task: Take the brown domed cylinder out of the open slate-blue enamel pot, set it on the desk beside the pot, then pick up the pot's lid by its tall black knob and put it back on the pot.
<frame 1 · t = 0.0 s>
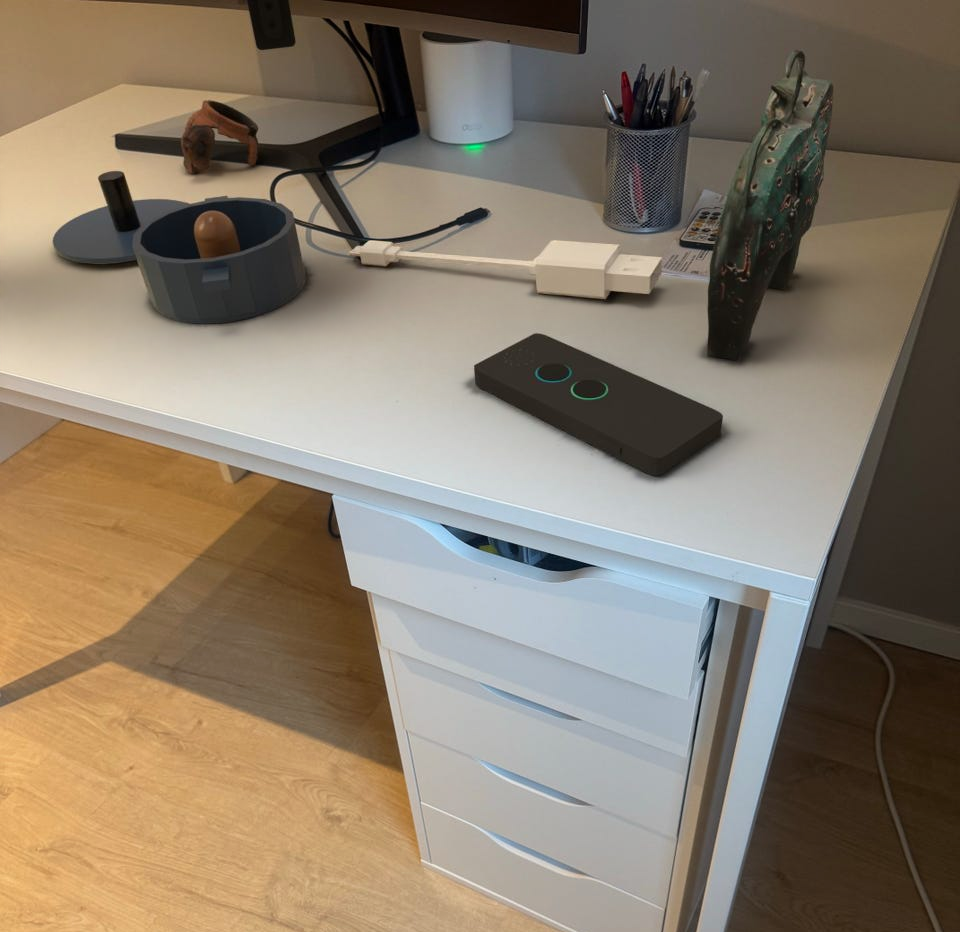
hand: (274, 33, 77), 21 cm above the table, tool pointing down, fingers open, 9 cm apart
smart home device: (591, 409, 73), on the table
dark green sculpted piece: (754, 314, 82), on the table
orange-brown curved ring piece: (220, 168, 118), on the table
pot: (229, 287, 92), on the table
charging cable: (501, 279, 90), on the table
brown domed cylinder: (228, 283, 92), resting on pot
lid: (129, 232, 102), point 1 cm above the table
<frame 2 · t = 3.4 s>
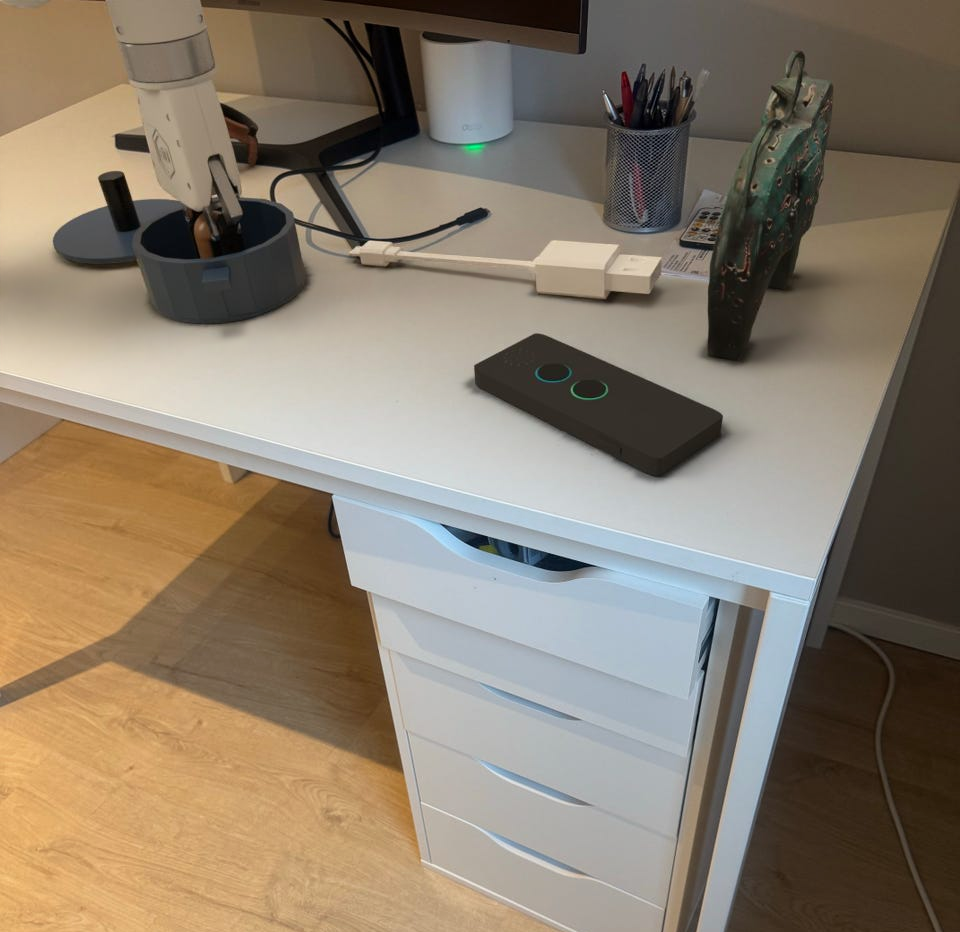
hand: (224, 266, 91), 2 cm above the table, tool pointing down, fingers closed on brown domed cylinder, 4 cm apart
brown domed cylinder: (228, 283, 92), resting on pot, touching gripper
everything else where it was.
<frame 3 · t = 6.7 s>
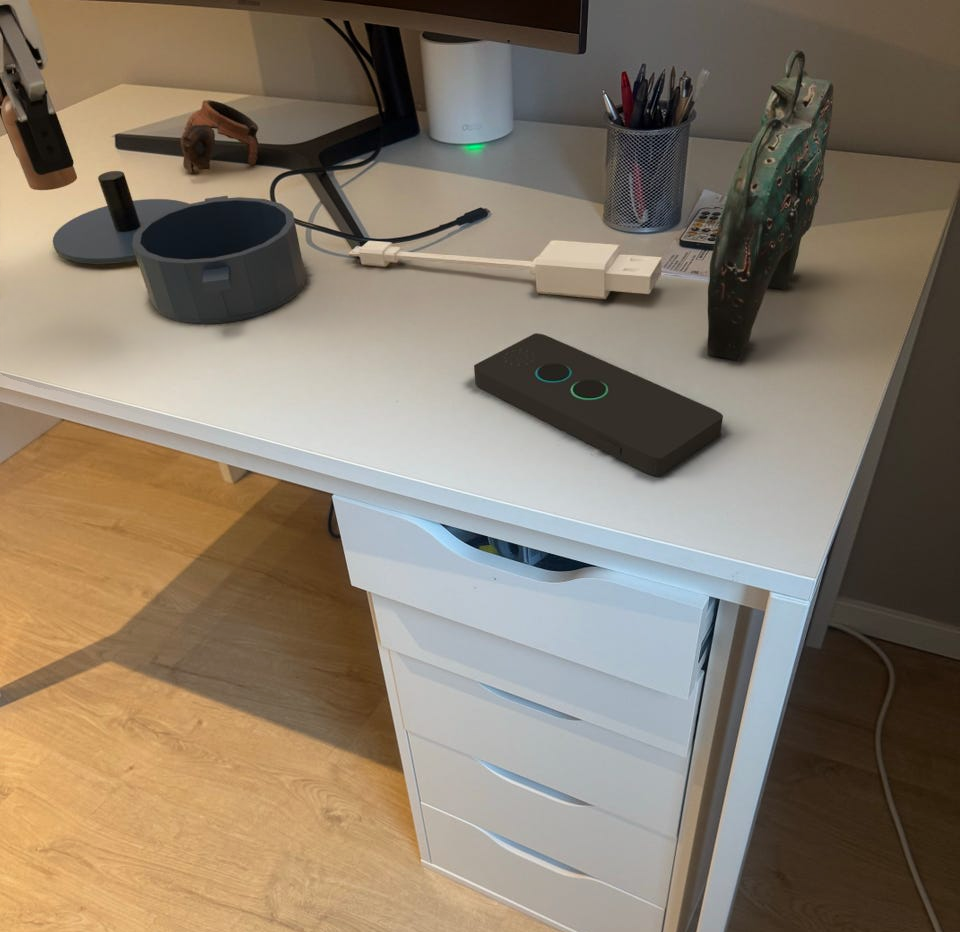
hand: (45, 160, 76), 15 cm above the table, tool pointing down, fingers closed on brown domed cylinder, 4 cm apart
brown domed cylinder: (53, 181, 77), point 14 cm above the table, touching gripper
everything else where it was.
when the fingers open (2 cm above the table, at t = 10.1 s): brown domed cylinder stays where it is, on the table.
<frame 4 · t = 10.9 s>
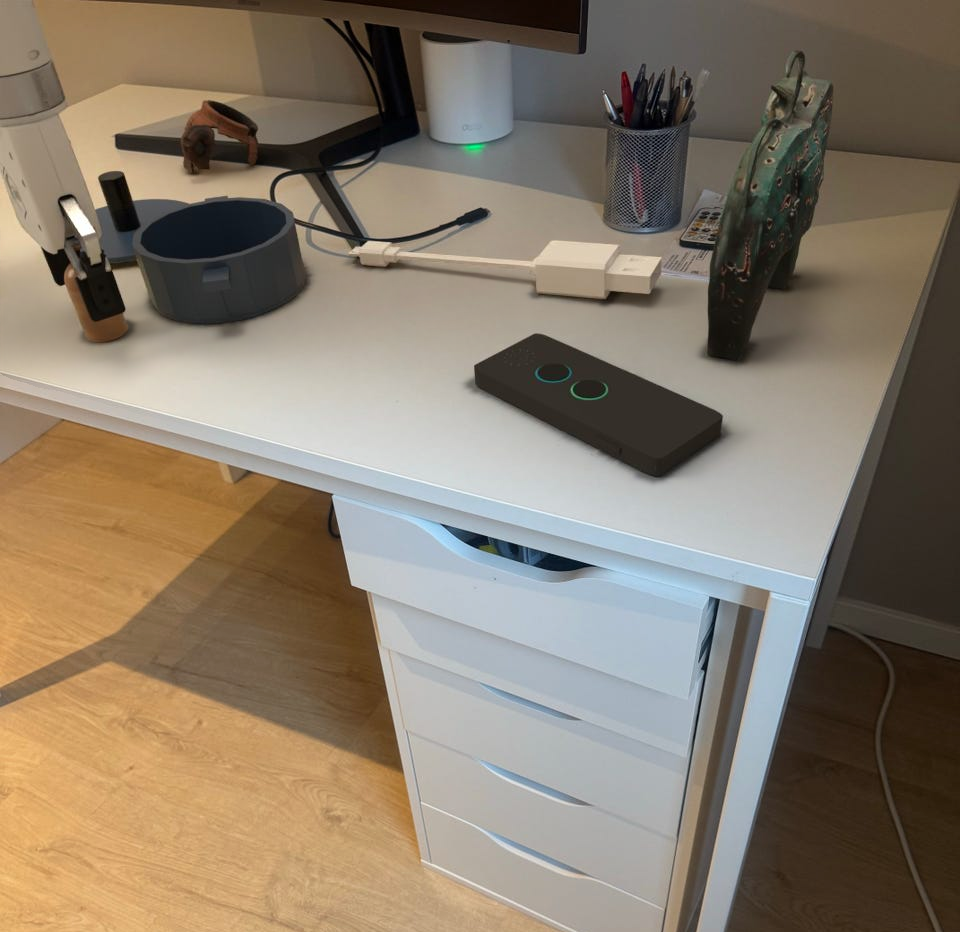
hand: (90, 297, 85), 3 cm above the table, tool pointing down, fingers open, 9 cm apart
brown domed cylinder: (107, 332, 87), on the table
everything else where it was.
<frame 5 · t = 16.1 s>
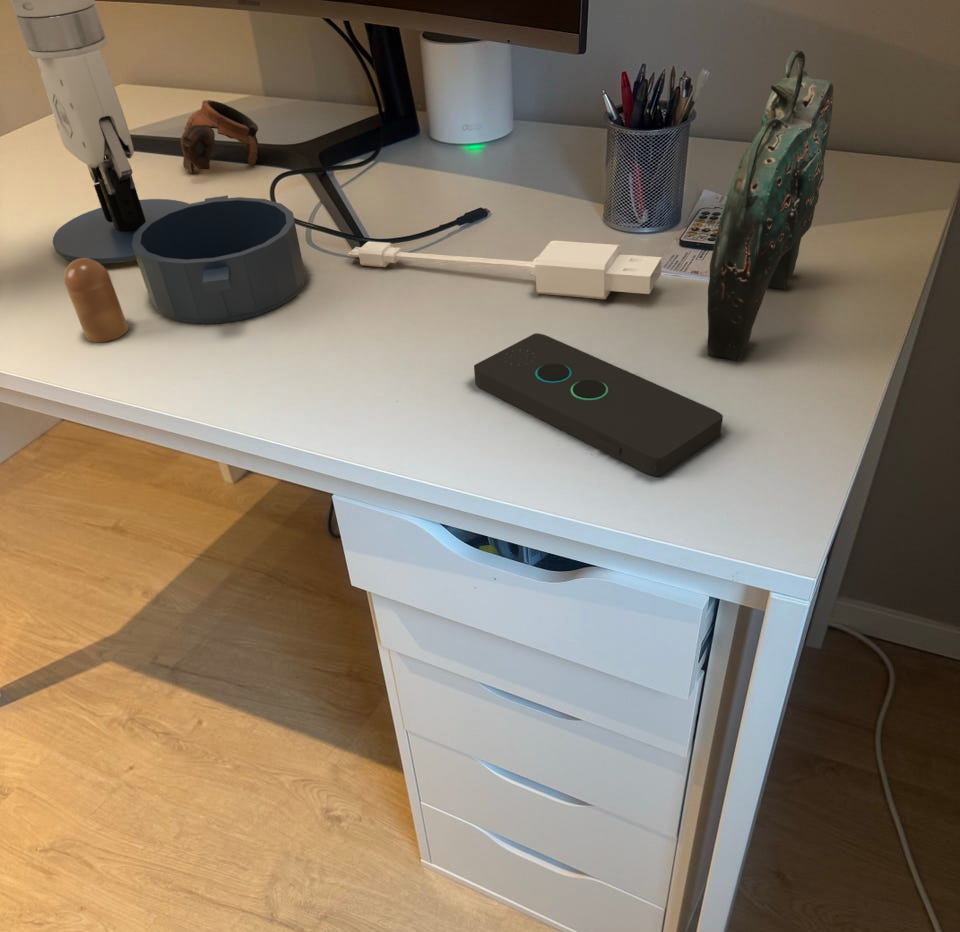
hand: (126, 221, 102), 2 cm above the table, tool pointing down, fingers closed on lid, 2 cm apart
lid: (129, 232, 102), point 1 cm above the table, touching gripper
everything else where it was.
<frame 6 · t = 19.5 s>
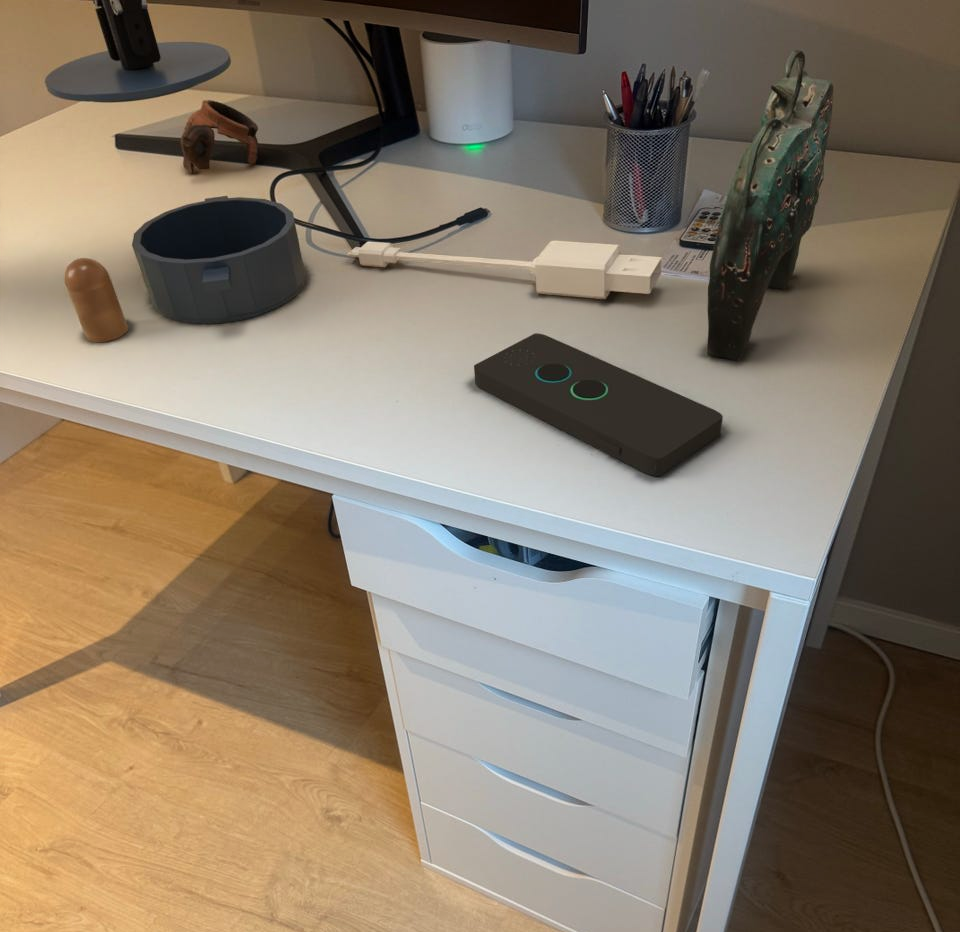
hand: (135, 58, 82), 19 cm above the table, tool pointing down, fingers closed on lid, 2 cm apart
lid: (140, 73, 83), point 18 cm above the table, touching gripper
everything else where it was.
when the fingers open (7 cm above the table, at t = 23.1 s): lid stays where it is, resting on pot.
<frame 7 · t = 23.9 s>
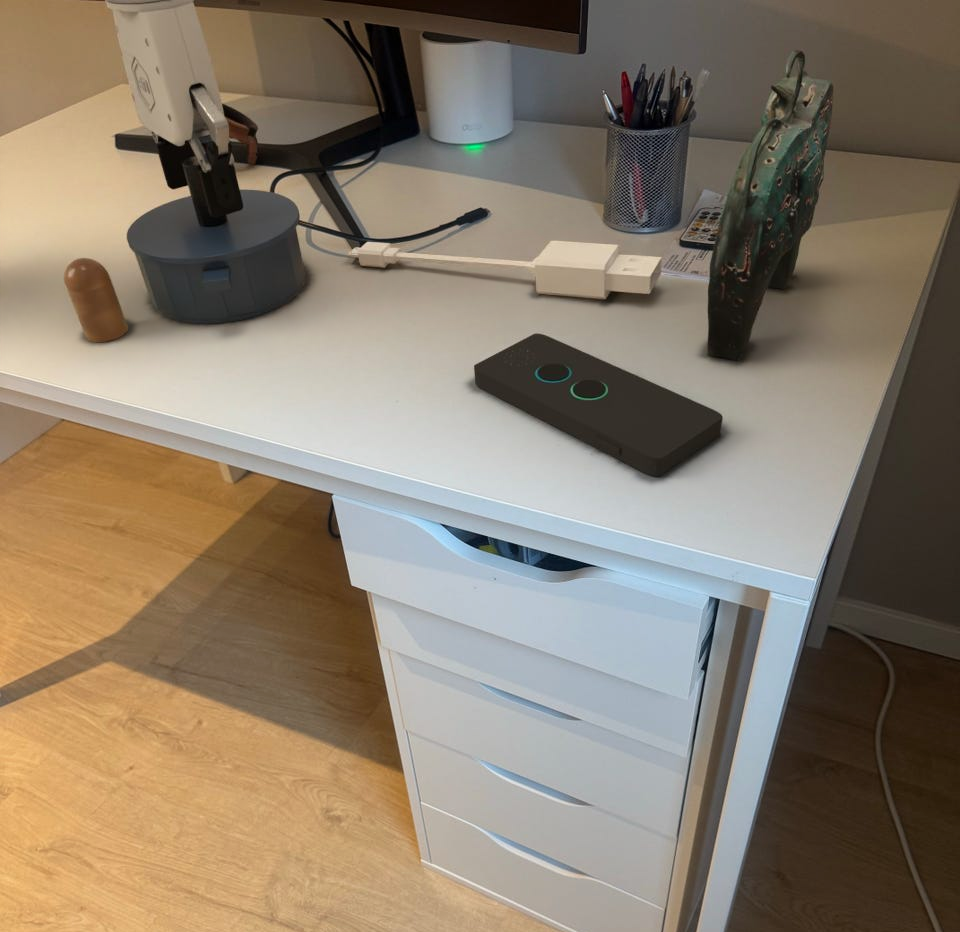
hand: (205, 198, 86), 9 cm above the table, tool pointing down, fingers open, 9 cm apart
lid: (214, 227, 88), point 6 cm above the table, touching pot
everything else where it was.
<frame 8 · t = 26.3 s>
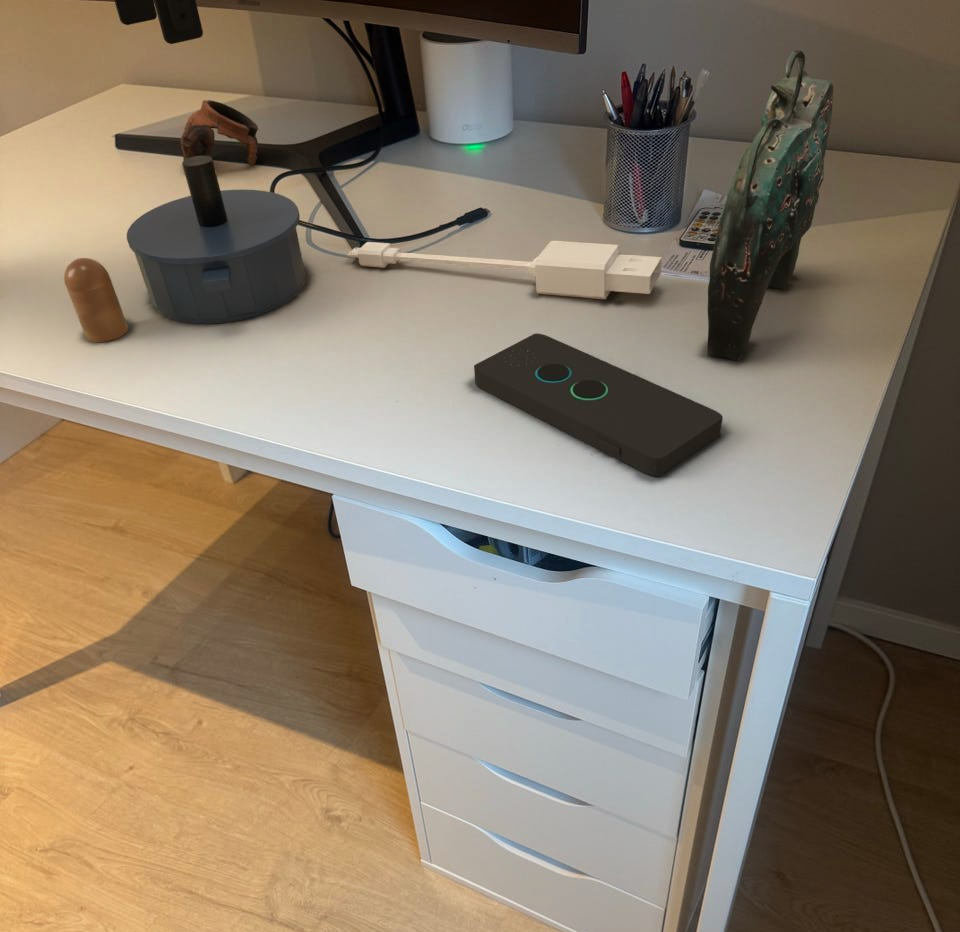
hand: (161, 30, 76), 22 cm above the table, tool pointing down, fingers open, 9 cm apart
nothing on the table moved.
at the end: brown domed cylinder inside the target area (0.2 cm from its centre), on the table; lid 0.1 cm off-centre on the pot, point 5.9 cm above the pot's base; lid tilted 0° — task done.
